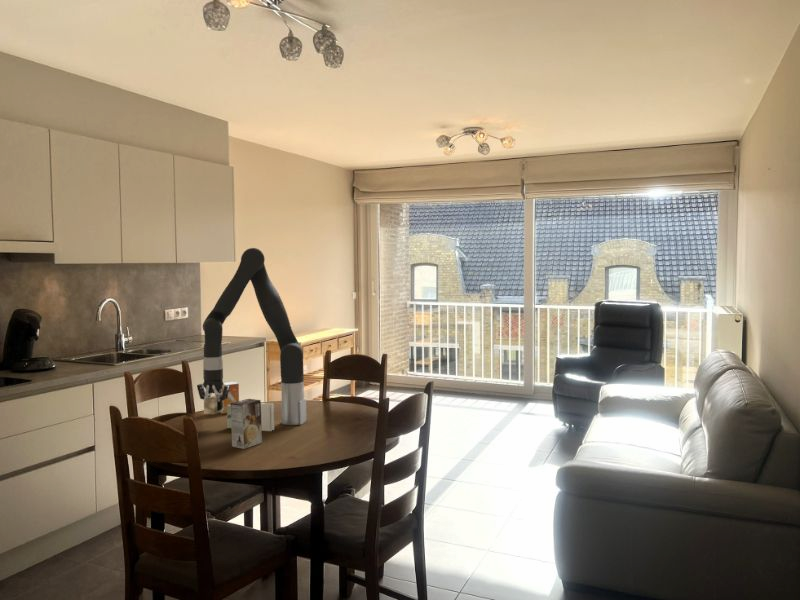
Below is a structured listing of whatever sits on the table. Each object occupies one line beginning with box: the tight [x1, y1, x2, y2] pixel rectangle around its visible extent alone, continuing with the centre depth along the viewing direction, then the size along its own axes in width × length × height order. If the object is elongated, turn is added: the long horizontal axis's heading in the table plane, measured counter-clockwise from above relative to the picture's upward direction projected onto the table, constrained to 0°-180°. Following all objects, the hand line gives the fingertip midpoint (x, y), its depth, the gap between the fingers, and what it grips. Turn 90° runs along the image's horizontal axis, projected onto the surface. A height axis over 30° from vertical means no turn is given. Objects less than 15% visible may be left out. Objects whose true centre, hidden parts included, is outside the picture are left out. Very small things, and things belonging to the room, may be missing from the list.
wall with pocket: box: [261, 402, 275, 432], centre depth 245 cm, size 9×3×11 cm, turn 76°
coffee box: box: [231, 398, 263, 450], centre depth 224 cm, size 9×6×16 cm
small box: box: [218, 381, 240, 415], centre depth 279 cm, size 8×6×13 cm
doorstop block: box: [203, 394, 224, 415], centre depth 247 cm, size 4×7×6 cm, turn 165°
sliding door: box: [226, 405, 232, 429], centre depth 247 cm, size 11×2×9 cm, turn 76°
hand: (213, 409), depth 247 cm, fingers closed on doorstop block, 4 cm apart
